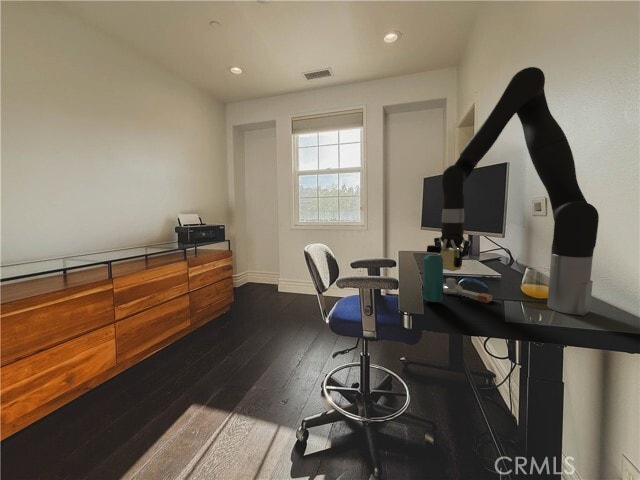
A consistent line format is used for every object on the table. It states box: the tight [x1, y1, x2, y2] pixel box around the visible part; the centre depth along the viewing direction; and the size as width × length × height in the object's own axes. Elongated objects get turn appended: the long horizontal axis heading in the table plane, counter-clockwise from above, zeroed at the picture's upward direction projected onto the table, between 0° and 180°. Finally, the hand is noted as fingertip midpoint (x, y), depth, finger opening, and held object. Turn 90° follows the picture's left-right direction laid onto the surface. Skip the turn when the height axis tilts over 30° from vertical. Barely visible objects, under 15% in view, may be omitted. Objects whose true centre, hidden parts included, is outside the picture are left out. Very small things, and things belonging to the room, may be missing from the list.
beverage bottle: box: [422, 244, 445, 303], centre depth 91 cm, size 6×7×20 cm
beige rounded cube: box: [440, 248, 462, 272], centre depth 102 cm, size 5×5×7 cm
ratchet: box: [443, 277, 493, 304], centre depth 99 cm, size 18×8×5 cm, turn 33°
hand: (450, 265), depth 102 cm, fingers closed on beige rounded cube, 5 cm apart
